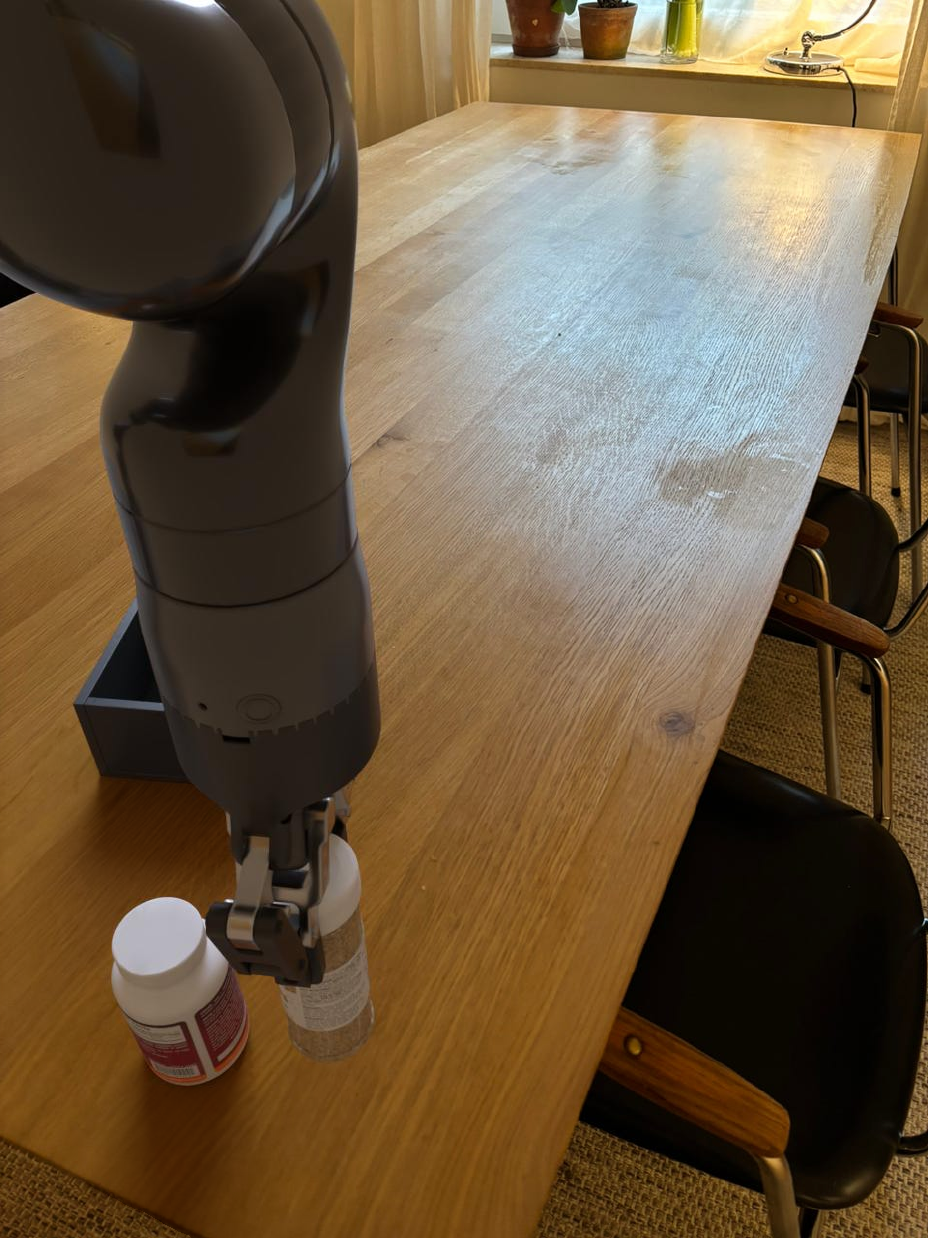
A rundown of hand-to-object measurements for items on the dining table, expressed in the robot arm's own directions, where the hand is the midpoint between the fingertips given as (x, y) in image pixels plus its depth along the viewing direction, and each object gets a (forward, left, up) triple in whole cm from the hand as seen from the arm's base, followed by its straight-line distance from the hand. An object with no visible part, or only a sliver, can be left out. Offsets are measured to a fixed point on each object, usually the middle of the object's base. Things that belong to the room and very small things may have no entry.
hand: (314, 922), depth 45 cm
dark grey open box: (-17, +27, -17) cm, 36 cm away
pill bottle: (-9, +2, -17) cm, 20 cm away
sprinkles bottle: (0, 0, -10) cm, 10 cm away
